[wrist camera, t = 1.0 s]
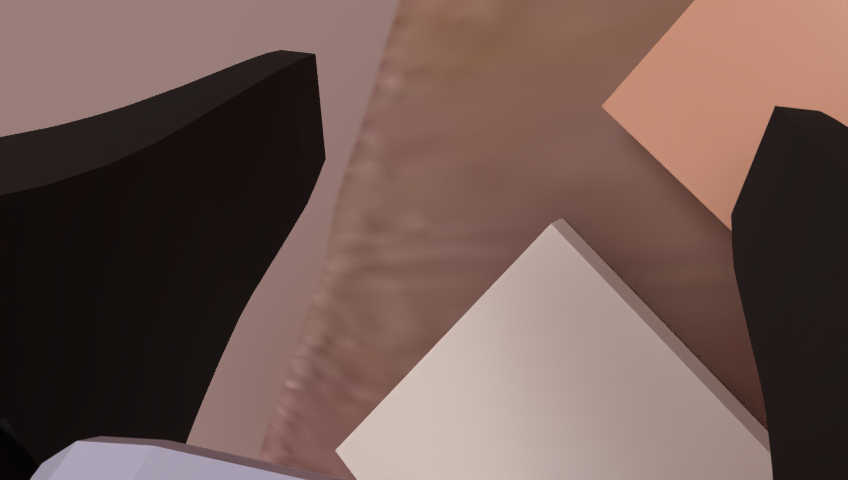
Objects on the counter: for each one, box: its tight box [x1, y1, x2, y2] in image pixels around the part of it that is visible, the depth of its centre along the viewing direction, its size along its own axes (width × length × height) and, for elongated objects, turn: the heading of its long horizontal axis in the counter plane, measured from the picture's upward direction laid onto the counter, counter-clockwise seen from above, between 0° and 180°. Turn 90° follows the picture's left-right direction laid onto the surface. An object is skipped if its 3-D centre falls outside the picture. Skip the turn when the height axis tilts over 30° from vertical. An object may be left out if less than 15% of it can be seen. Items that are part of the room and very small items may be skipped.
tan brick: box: [602, 0, 848, 231], centre depth 18 cm, size 6×6×4 cm
